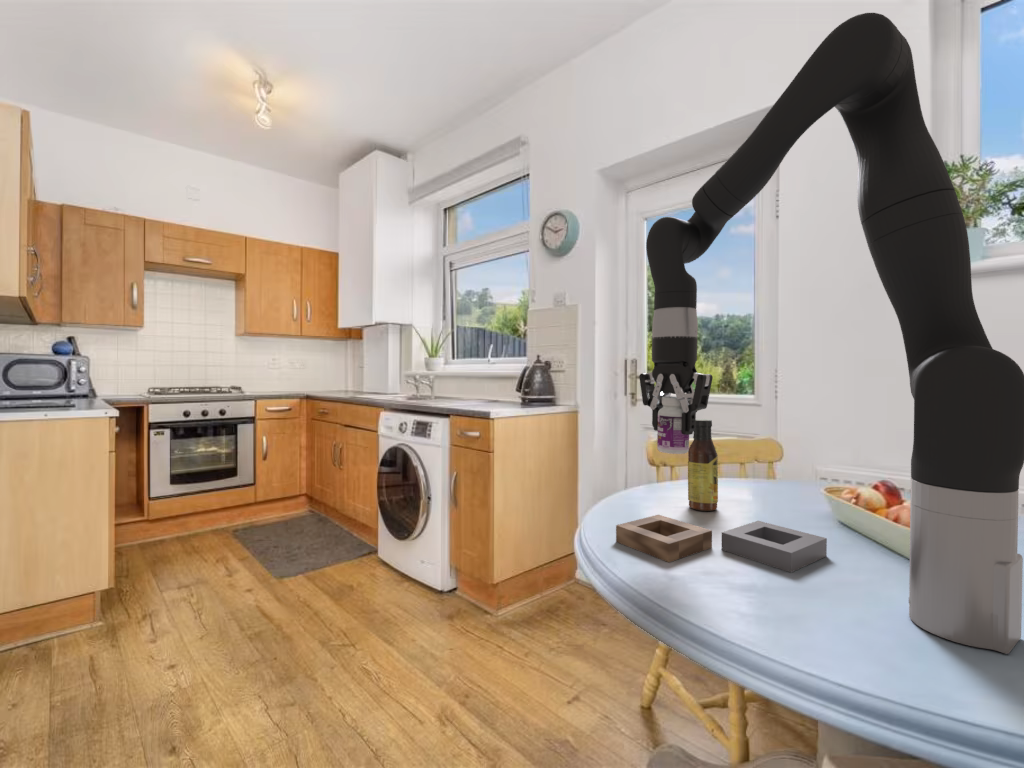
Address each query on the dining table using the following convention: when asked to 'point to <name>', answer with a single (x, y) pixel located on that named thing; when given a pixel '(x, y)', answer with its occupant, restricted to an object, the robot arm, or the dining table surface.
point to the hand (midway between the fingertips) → (672, 431)
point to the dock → (664, 537)
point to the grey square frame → (774, 545)
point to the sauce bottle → (702, 469)
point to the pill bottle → (671, 428)
